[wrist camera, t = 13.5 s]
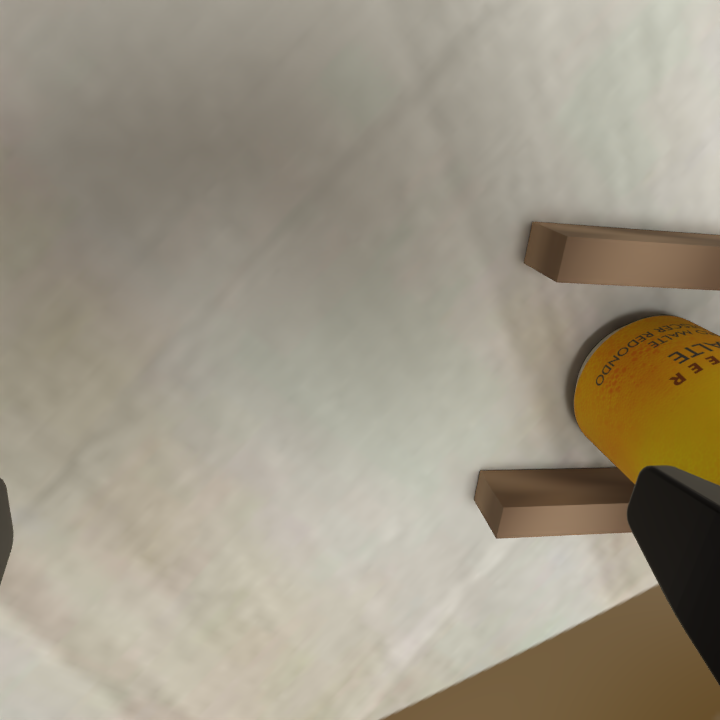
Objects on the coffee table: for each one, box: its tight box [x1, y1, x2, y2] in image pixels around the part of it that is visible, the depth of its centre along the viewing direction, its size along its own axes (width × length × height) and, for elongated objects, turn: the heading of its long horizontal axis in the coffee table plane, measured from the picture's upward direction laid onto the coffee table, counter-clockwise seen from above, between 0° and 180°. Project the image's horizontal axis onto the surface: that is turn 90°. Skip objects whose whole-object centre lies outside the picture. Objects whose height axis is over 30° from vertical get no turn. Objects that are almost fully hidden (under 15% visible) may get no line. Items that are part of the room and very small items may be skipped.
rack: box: [474, 222, 720, 539], centre depth 23 cm, size 12×12×4 cm
